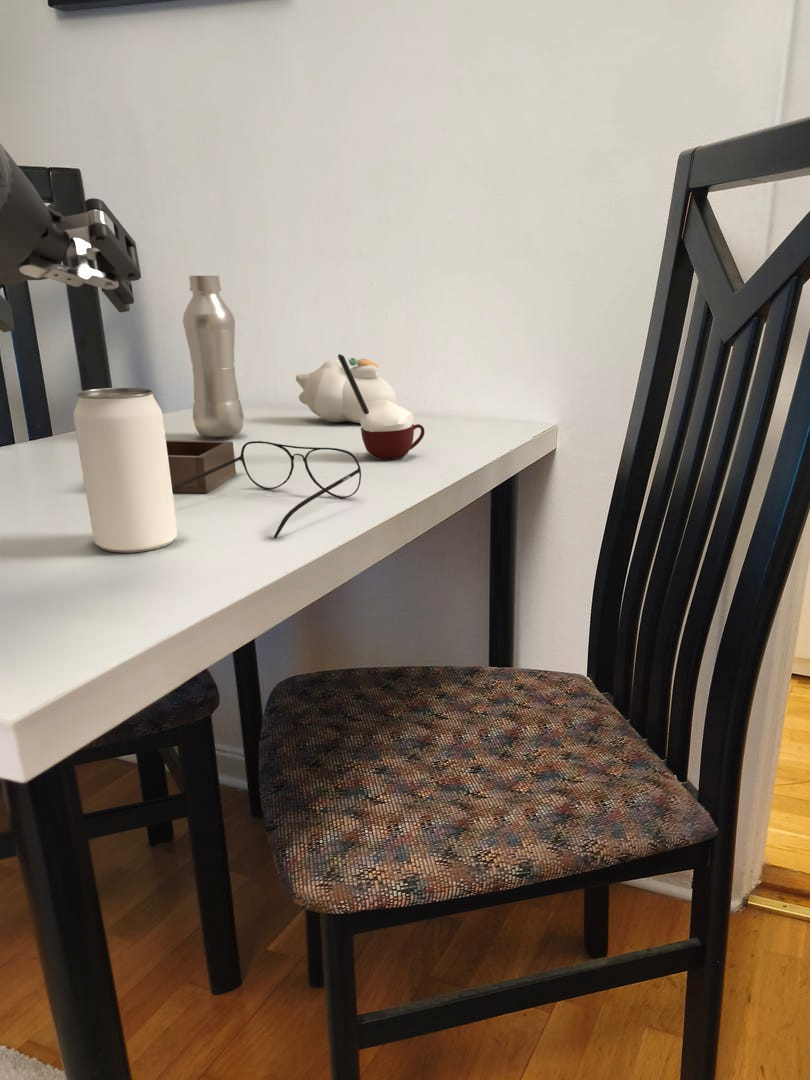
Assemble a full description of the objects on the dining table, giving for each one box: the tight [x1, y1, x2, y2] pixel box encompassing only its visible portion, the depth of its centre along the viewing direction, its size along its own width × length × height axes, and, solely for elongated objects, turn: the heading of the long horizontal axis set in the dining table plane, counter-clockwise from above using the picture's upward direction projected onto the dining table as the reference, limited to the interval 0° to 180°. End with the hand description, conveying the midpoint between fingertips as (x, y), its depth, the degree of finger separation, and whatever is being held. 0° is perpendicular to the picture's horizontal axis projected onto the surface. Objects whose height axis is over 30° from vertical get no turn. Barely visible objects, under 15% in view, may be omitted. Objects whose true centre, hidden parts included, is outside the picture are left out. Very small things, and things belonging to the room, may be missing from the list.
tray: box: [166, 439, 237, 494], centre depth 93 cm, size 9×9×4 cm
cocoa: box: [337, 353, 425, 461], centre depth 105 cm, size 10×6×12 cm, turn 89°
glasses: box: [172, 440, 362, 539], centre depth 83 cm, size 14×15×5 cm
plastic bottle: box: [182, 275, 245, 439], centre depth 115 cm, size 6×7×20 cm
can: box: [73, 387, 178, 554], centre depth 71 cm, size 6×6×12 cm
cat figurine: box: [295, 357, 398, 424], centre depth 130 cm, size 10×8×15 cm
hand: (66, 310), depth 66 cm, fingers open, 8 cm apart
